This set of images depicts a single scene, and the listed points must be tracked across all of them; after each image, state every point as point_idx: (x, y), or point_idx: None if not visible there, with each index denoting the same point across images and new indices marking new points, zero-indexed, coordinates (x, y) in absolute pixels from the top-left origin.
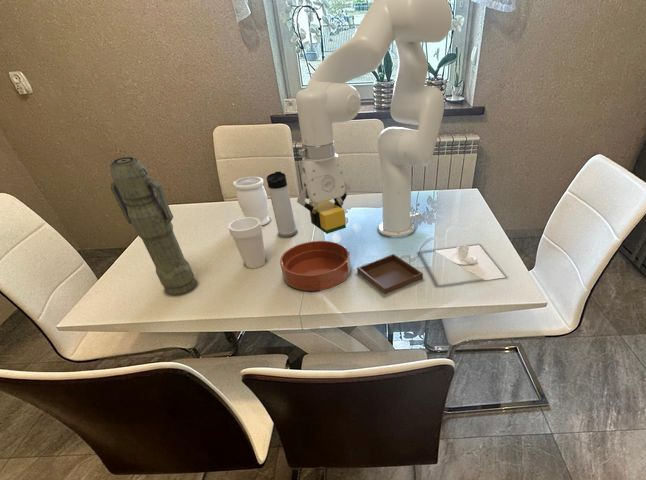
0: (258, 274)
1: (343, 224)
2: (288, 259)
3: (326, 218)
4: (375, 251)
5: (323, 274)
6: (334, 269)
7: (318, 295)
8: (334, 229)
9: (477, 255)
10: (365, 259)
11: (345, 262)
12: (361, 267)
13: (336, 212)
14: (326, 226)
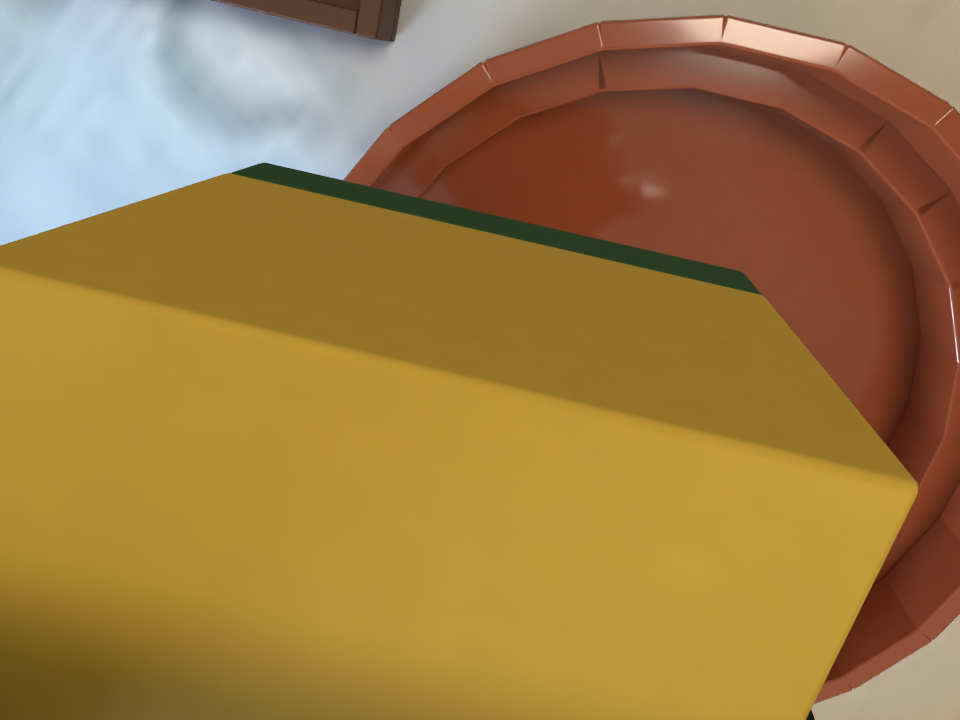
0: (929, 711)
1: (284, 184)
2: None
3: (811, 404)
4: (7, 223)
5: (888, 68)
6: (726, 37)
7: (923, 62)
8: (547, 234)
9: None
10: (164, 192)
11: (514, 58)
12: (339, 6)
13: (343, 339)
14: (777, 319)
